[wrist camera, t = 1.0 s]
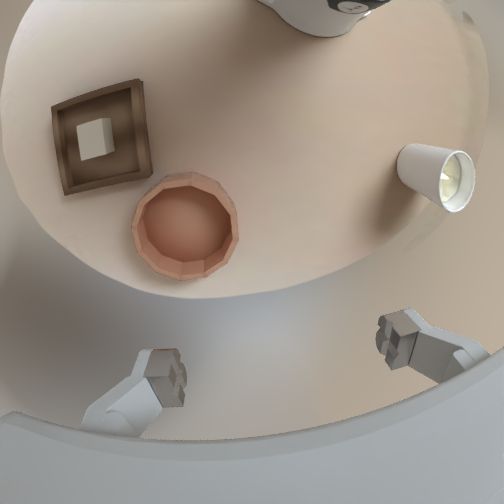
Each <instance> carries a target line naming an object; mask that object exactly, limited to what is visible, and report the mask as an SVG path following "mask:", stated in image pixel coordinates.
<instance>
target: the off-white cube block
mask: <svg viewBox="0 0 504 504" xmlns="http://www.w3.org/2000/svg"><path fill="white" fill-rule="evenodd" d="M76 127H77V135H78V143H79V150H80V156H81V161H82V160H86V159H90V158H93V157H97V156H101V155H105V154H108V153H111V152H114V151H115V149H114V141H113V134H112V125H111V118H100V119H97V120H94V121H90V122H87V123H84V124H81V125H78V126H76Z"/></svg>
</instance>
